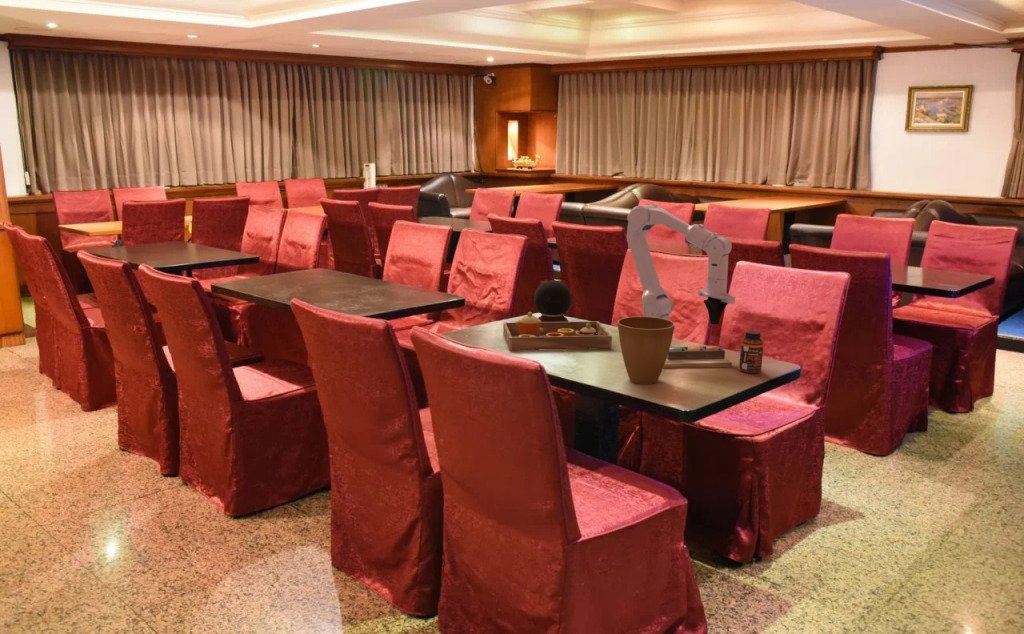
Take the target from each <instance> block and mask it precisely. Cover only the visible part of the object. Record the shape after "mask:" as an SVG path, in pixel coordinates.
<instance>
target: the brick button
mask: <svg viewBox="0 0 1024 634" xmlns="http://www.w3.org/2000/svg"><path fill="white" fill-rule="evenodd" d="M717 346H718V345H707V346H706V350H707V351H716V350H719V347H720V346H719V347H717Z"/></svg>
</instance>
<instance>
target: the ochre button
mask: <svg viewBox="0 0 1024 634" xmlns="http://www.w3.org/2000/svg"><path fill="white" fill-rule="evenodd" d="M687 347H688V351H700V347H701V346H696V345H691V346H690V345H689V346H687Z"/></svg>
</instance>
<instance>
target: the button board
mask: <svg viewBox="0 0 1024 634" xmlns="http://www.w3.org/2000/svg"><path fill="white" fill-rule="evenodd" d="M716 346H717V347H719V350H716V351H707V350H706V346H704V345H703V346H699V347H700V351H688V347H689V346H680V347H681V348H682V351H669V352H668V355H667V358H666V361H665V364H664V367H663V369H679V368H680V369H685V368H688V369H689V368H692V369H693V368H729V367H730V368H731V367H732V366H733V364H732V363H733V362H732V361H730V360H729V359H728V358H727V357H725V356H726V350H724V349H723V348H722V347H720V346H719V345H716ZM732 368H733V367H732Z"/></svg>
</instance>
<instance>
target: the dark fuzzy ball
mask: <svg viewBox="0 0 1024 634" xmlns="http://www.w3.org/2000/svg"><path fill="white" fill-rule="evenodd" d="M534 292H535V293H534V295H533V302H534V306H535V308H536V310H537V312H538V313H539V314H540V316H538V317H537V318H538V319H539V320H541V322H569V320H568V317H566V316H565V314H566V313H567V312H568V311H569V310H570V309H571V308H570V307H571V305H572V299H573V298H572V297H573V296H572V294H571V291H570V288H569V287H568V286H567V285H566V284H565V283H563V282H562V281H560V280H554V279H551V280H546V281H545V282H543V283H541V284H540V285H539V286H538V287H537V288H536V289H535V291H534Z"/></svg>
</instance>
